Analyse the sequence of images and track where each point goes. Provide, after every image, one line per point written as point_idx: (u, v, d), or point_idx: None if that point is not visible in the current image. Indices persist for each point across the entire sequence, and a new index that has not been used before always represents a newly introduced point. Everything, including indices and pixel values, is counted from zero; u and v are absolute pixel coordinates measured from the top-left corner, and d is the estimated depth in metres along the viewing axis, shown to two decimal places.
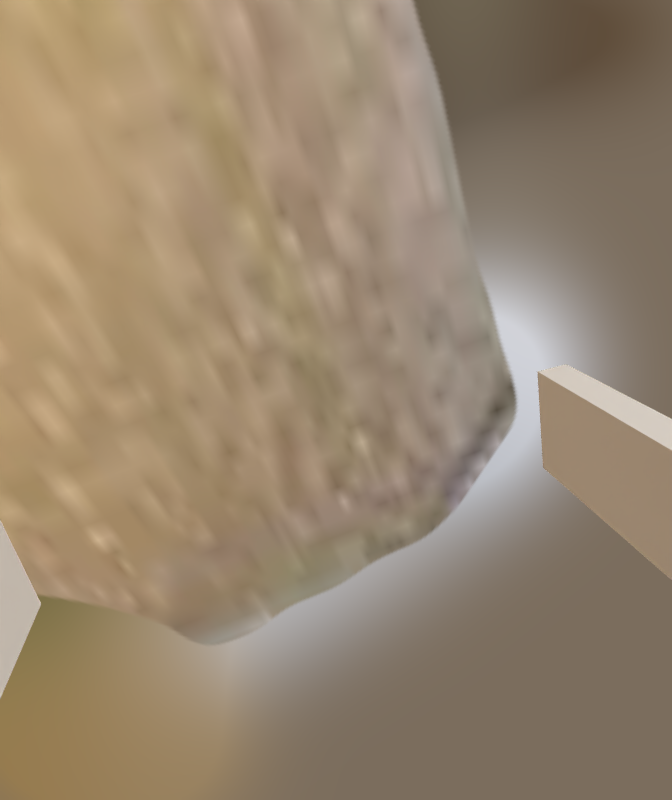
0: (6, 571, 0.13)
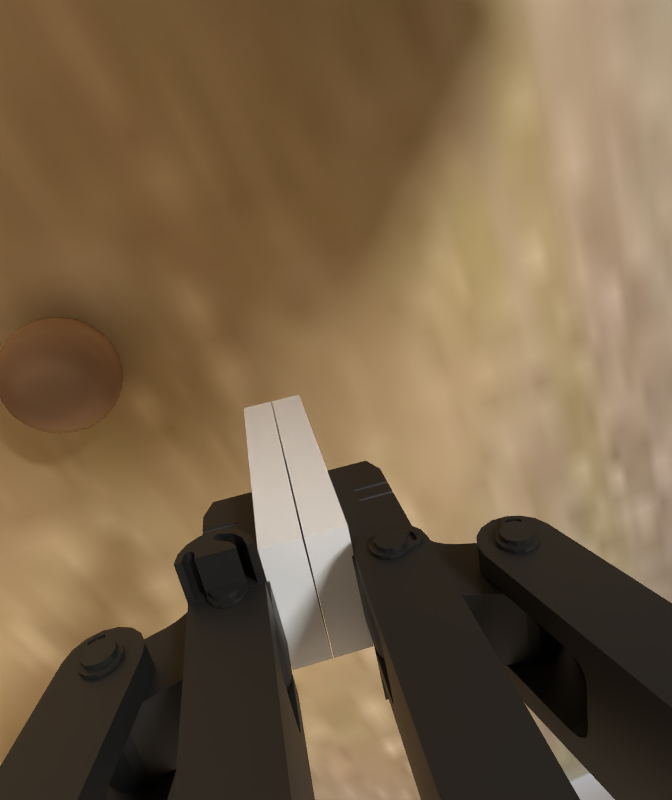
0: None
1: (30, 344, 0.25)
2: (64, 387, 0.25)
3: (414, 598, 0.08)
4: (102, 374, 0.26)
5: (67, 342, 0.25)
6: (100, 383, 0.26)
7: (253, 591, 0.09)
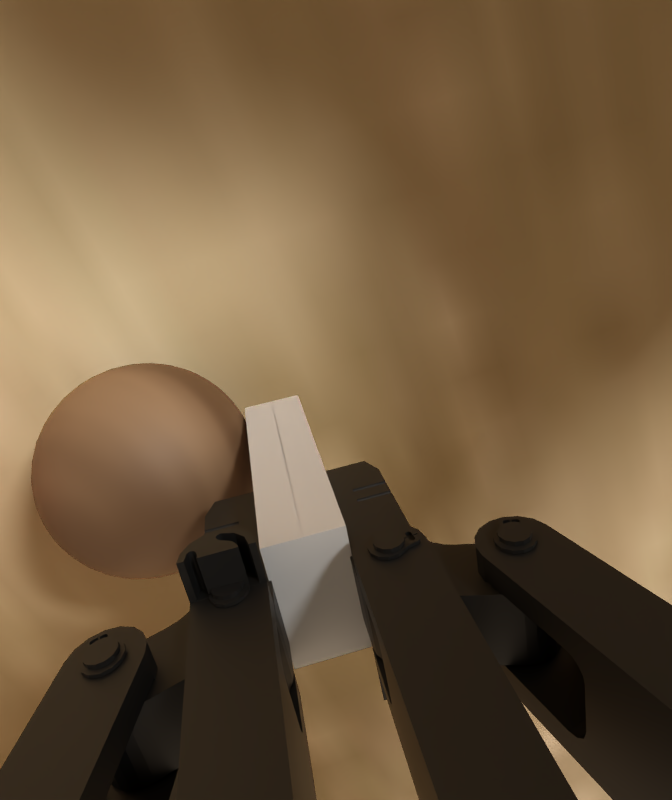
0: None
1: (63, 430, 0.13)
2: (90, 533, 0.13)
3: (413, 598, 0.08)
4: (172, 519, 0.13)
5: (117, 446, 0.12)
6: (164, 536, 0.13)
7: (255, 591, 0.09)
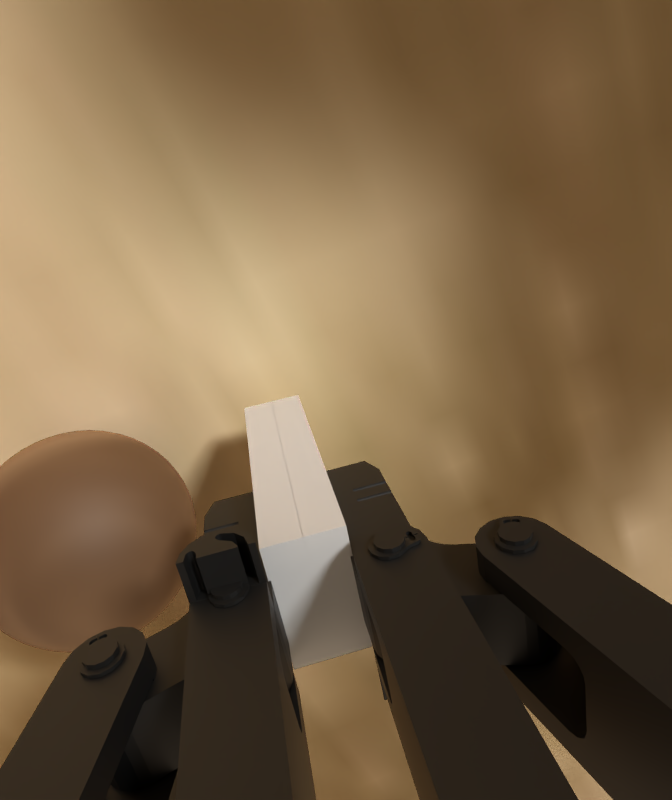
0: None
1: None
2: None
3: (413, 598, 0.08)
4: None
5: None
6: None
7: (254, 591, 0.09)
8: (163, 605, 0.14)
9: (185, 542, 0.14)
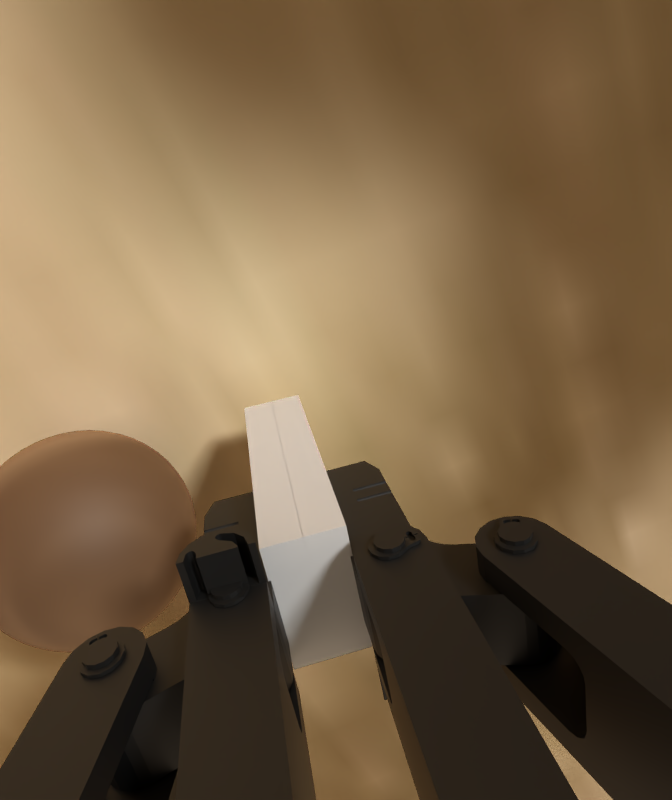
0: None
1: None
2: None
3: (413, 598, 0.08)
4: None
5: None
6: None
7: (254, 591, 0.09)
8: (163, 605, 0.14)
9: (185, 542, 0.14)
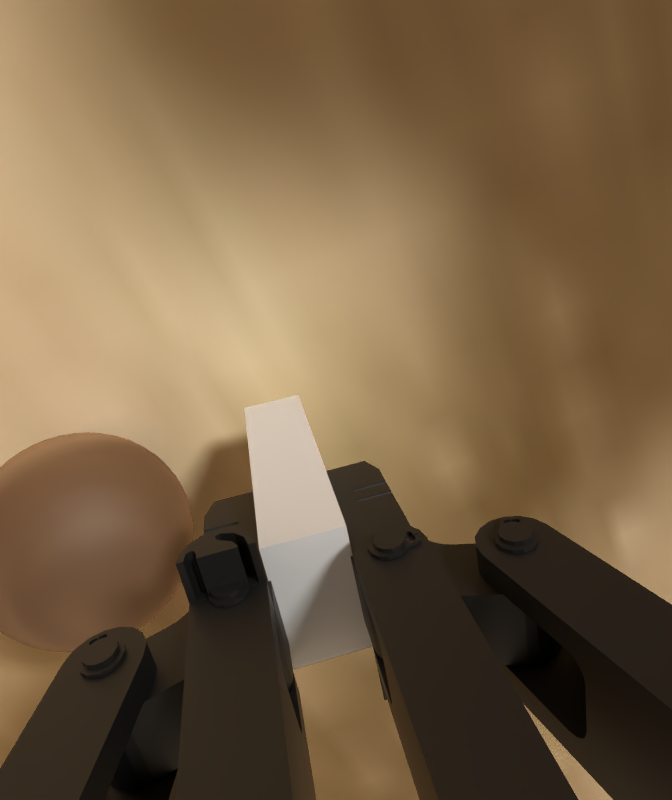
0: None
1: None
2: None
3: (413, 598, 0.08)
4: None
5: None
6: None
7: (255, 591, 0.09)
8: (160, 605, 0.14)
9: (182, 542, 0.15)
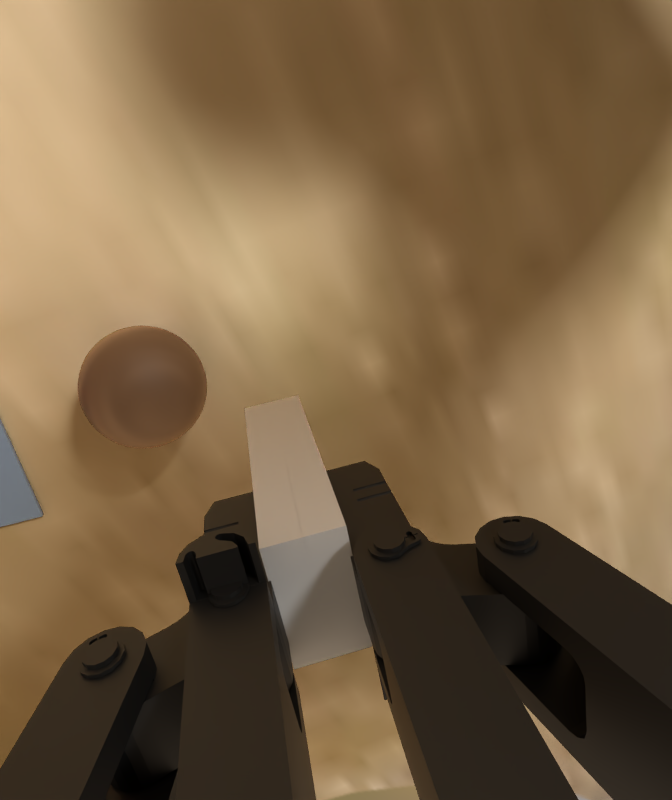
0: None
1: None
2: None
3: (413, 598, 0.08)
4: None
5: None
6: None
7: (254, 591, 0.09)
8: (188, 422, 0.25)
9: (201, 387, 0.25)
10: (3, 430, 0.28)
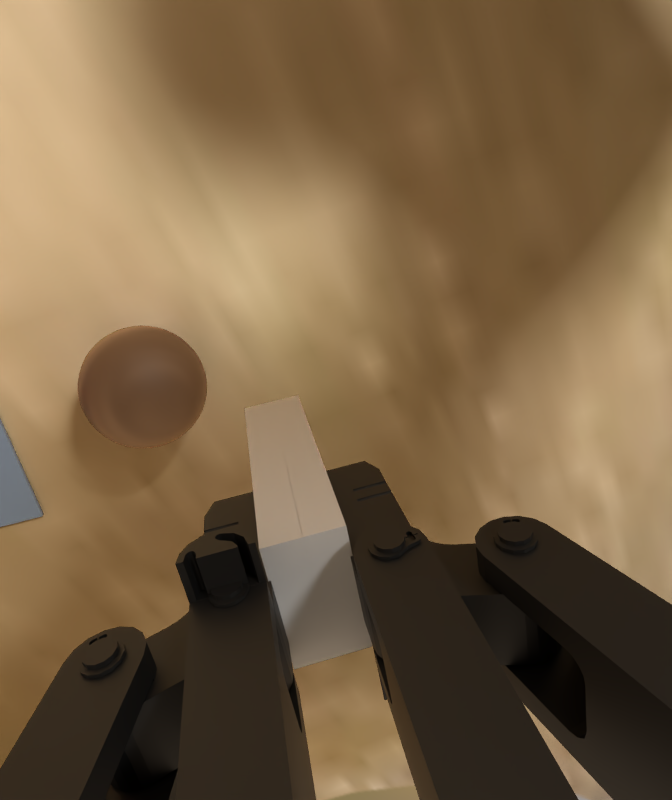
0: None
1: None
2: None
3: (413, 598, 0.08)
4: None
5: None
6: None
7: (254, 591, 0.09)
8: (188, 422, 0.25)
9: (201, 387, 0.25)
10: (3, 430, 0.28)
